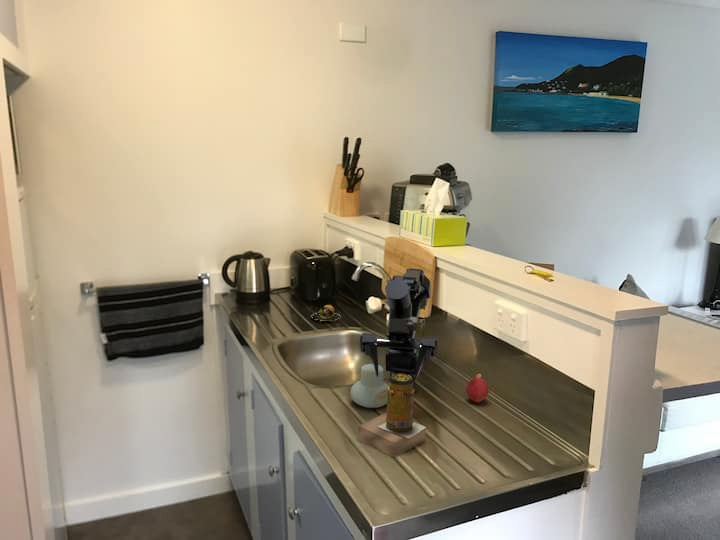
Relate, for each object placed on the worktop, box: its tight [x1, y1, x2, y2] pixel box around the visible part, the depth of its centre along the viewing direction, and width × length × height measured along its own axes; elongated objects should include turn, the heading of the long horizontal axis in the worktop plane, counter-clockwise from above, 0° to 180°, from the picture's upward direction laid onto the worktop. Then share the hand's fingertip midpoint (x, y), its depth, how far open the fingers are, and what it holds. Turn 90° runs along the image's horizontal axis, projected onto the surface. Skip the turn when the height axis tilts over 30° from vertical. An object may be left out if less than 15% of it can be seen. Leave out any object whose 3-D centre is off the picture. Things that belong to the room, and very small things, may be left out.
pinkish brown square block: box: [357, 412, 427, 458], centre depth 134 cm, size 11×11×4 cm
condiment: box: [378, 374, 427, 438], centre depth 132 cm, size 7×8×12 cm
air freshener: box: [350, 363, 389, 409], centre depth 153 cm, size 11×8×10 cm
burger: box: [310, 302, 342, 323], centre depth 227 cm, size 12×12×8 cm
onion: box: [465, 373, 490, 404], centre depth 156 cm, size 6×6×8 cm
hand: (396, 377), depth 139 cm, fingers open, 9 cm apart
